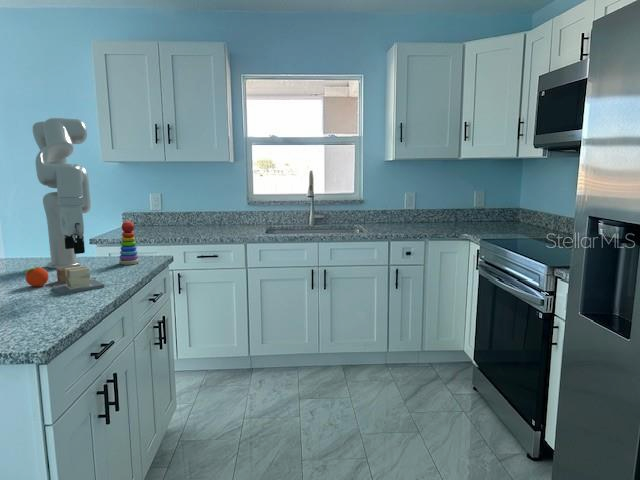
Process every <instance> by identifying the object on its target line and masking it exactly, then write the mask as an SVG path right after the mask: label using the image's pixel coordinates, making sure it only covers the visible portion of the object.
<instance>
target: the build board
mask: <svg viewBox="0 0 640 480" xmlns="http://www.w3.org/2000/svg"><path fill="white" fill-rule="evenodd" d="M101 288H105V284H104V283H102V282H100V281H98V280H96V279H90V285H89V286H83V287H77V288H70V287H69V286H67V285H66V283H64V284H58V285H53V286H51V290H52V291H54V292H55V293H57V294H58V295H60V296H64V295H70V294H74V293H75V294H76V293H80V292H86V291H92V290H97V289H101Z"/></svg>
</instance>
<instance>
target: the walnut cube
mask: <svg viewBox="0 0 640 480" xmlns="http://www.w3.org/2000/svg"><path fill="white" fill-rule="evenodd" d="M65 268H71V267H64V268H57V269H55V270H56V278H57V282H58V283H60V285H63V284H66V275H65Z"/></svg>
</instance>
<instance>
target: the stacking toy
mask: <svg viewBox="0 0 640 480" xmlns="http://www.w3.org/2000/svg"><path fill="white" fill-rule="evenodd" d="M134 229H135V225H134V223H133V222H132V221H129V220H126V221H124V222H123V223H122V224H121V230H122V233H121V239H120V241H121V243H120V244H121V246H120V252H119V254H120V255H119V260H118V261H119V264H120V265H122V266H127V265H128V266H129V265H137V264H139V261H140V260H139V255H138V250H137V246H136V245H137V242H136V241H135V240H136V238H135V237H134V236H135V232H134Z"/></svg>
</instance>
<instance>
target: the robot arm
mask: <svg viewBox="0 0 640 480" xmlns="http://www.w3.org/2000/svg"><path fill="white" fill-rule="evenodd" d="M32 134H33V138H34V140H35V143H36V144H37V147H38V149H39V152H37V155H36V157H35V162H34V163H35V170H36V176H37V179H38V182H39V183H40V184H41V185H43V186H46V187H48V188H51V189H56V191H52V192H51V191H50V192H47V193H46V194H44V196H43V197H42V205H43V209H44V212H45V217H46V224H47V231H48V232H47V233H48V243H49V244H48V245H49V254H50V262H49V263H47V265H46V267H47V268H49V269H55V270H56V269H57V268H64V267H79V266H81V264H82V262H81V260H78V259H77V255H80V254H85V253H86V249H85V237H84V234H85V227H84V216H83V214H86V213H89V212H90V210H91V206H92V205H91V193H90V184H89V182H90V181H89V176H88V172H87V170H86V168H85V167H84V166H81V165H79V164H77V163H75V164H74V163H67V158H68V157H70V156H71V155H72V154H73V153H74V145H80V144H82V143H84V142H85V141H86V140H87V137H88V130H87V126H86V125H85V123H84V121H82V120H80V119H77V118H76V119H75V118H62V117H51V118H48V119H46V120H45V121H38V122H35V123H34V124H33V125H32Z"/></svg>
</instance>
